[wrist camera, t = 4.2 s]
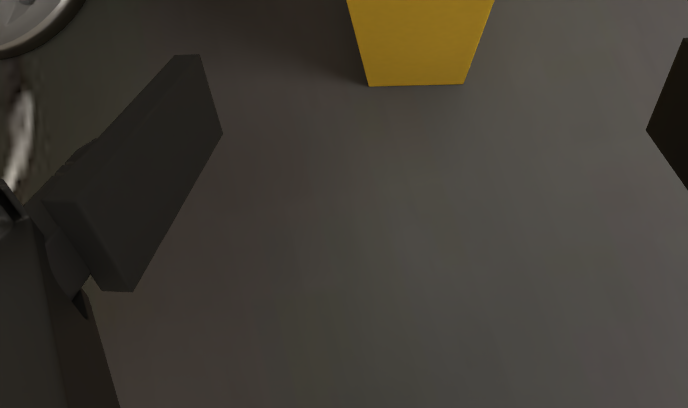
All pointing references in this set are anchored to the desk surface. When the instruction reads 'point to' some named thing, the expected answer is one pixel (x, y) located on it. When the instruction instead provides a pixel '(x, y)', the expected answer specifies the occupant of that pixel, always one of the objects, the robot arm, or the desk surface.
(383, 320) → the desk surface
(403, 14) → the package
